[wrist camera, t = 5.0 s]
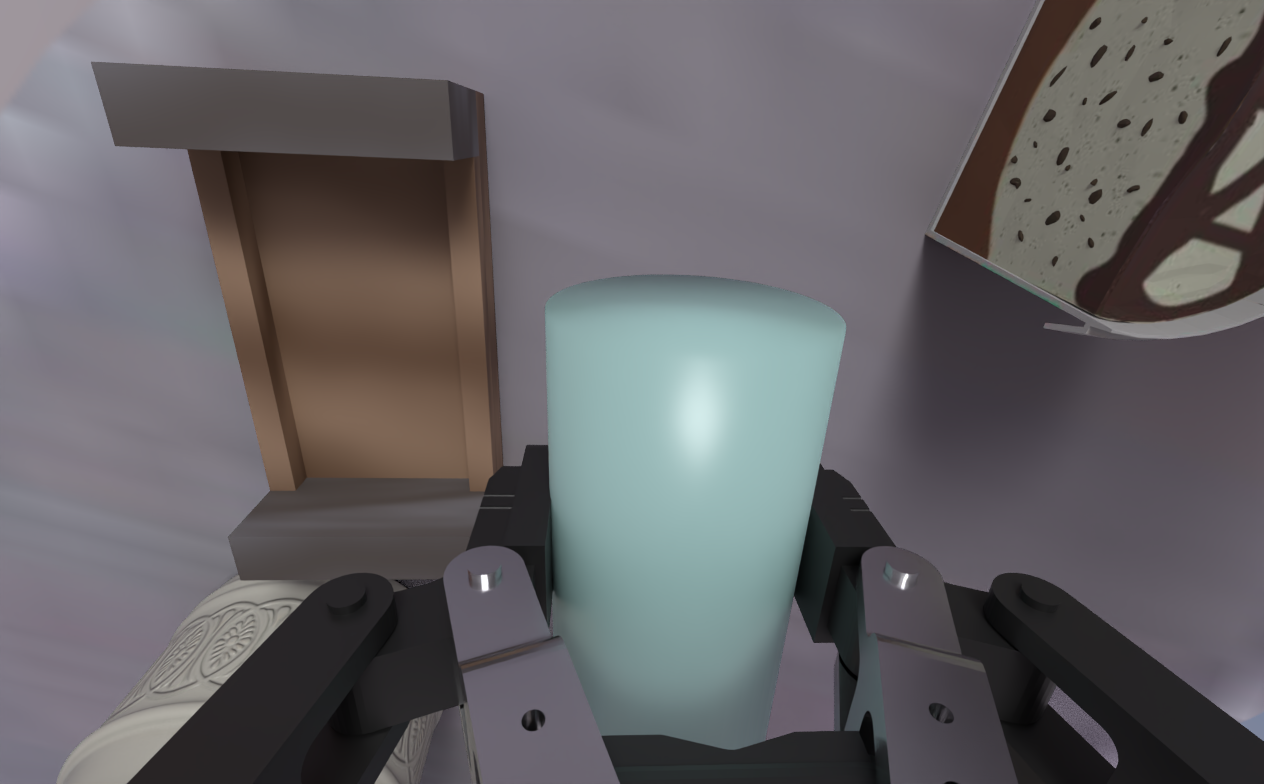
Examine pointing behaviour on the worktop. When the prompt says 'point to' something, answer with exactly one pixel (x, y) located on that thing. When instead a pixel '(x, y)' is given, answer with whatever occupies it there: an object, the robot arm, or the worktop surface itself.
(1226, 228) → the food container
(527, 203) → the worktop surface
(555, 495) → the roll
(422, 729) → the jar
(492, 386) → the holder
